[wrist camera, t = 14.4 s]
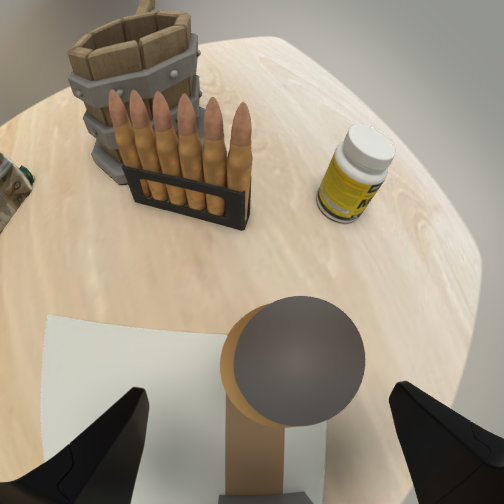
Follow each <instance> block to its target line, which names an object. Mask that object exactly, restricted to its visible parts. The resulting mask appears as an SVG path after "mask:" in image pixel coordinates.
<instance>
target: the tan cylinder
mask: <svg viewBox="0 0 504 504" xmlns="http://www.w3.org/2000/svg"><path fill="white" fill-rule="evenodd" d="M364 369H365V351H364V346H363V341H362V339H361V336H360V333H359V332H358V330H357V328H356V326H355V325H354V323H353V322H352V320H351V319H350V318H349V317H348V316H347V315H346V314H345V313H344V312H343V311H342V310H340V309H339V308H338V307H336V306H335V305H333V304H331V303H329V302H327V301H324V300H322V299H319V298H314V297H308V296H293V297H288V298H284V299H280V300H277V301H275V302H273V303H271V304H267V305H264V306H261V307H259V308H257V309H254V310H253V311H251V312H249V313H248V314H246V315H245V316H244V317H243V318H241V319H240V320H239V321H238V322H237V323H236V324H235V326H234V327H233V328H232V330H231V331H230V333H229V334H228V336H227V338H226V340H225V343H224V345H223V348H222V352H221V357H220V374H221V380H222V383H223V387H224V389H225V391H226V393H227V395H228V397H229V399H230V400H231V402H232V403H233V405H234V406H235V407H236V408H237V409H238V410H239V411H240V412H241V413H243V414H244V415H245V416H246V417H248V418H250V419H251V420H253V421H255V422H257V423H260V424H262V425H266V426H269V427H276V428H290V427H298V426H310V425H315V424H318V423H321V422H324V421H326V420H328V419H330V418H332V417H333V416H335V415H337V414H338V413H339V412H340V411H342V410H343V409H344V408H345V407H346V406H347V405H348V404H349V403H350V401H351V400H352V399H353V397H354V396H355V394H356V393H357V391H358V389H359V387H360V384H361V382H362V379H363V375H364Z"/></svg>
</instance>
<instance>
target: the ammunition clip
mask: <svg viewBox="0 0 504 504" xmlns="http://www.w3.org/2000/svg"><path fill="white" fill-rule="evenodd" d="M109 111H110V116H111V119H112V123H113V127H114V131H115V138H116V143H117V145H118V148H119V151H120V153H121V156H122V159H123V161H124V164H125V165H124V164H123V165H122V169H123V172H124V175H125V177H126V180H127V183H128V185H129V188H130V190H131V193H132V195H133V198H134V200H135V202H137V203H141V204H144V205H148V206H152V207H156V208H160V209H164V210H167V211H171V212H175V213H179V214H183V215H186V216H190V217H194V218H198V219H201V220H205V221H209V222H212V223H216V224H220V225H223V226H227V227H231V228H234V229H238V230H245V227H246V224H247V221H248V218H249V215H250V198H251V168H252V152H251V118H250V113H249V110H248V107H247V105H246V104H245V103H244V102H242V103H241V104H240V105H239V107H238V109H237V111H236V113H235V116H234V120H233V125H232V131H231V141H230V149H229V153H228V157H227V151H226V147H225V143H224V133H223V120H222V114H221V110H220V107H219V104H218V102H217V101H216V99H215V98H214V97H211V98H210V100H209V102H208V104H207V107H206V111H205V116H204V145H203V150H202V144H201V141H200V138H199V134H198V128H197V122H196V116H195V112H194V108H193V106H192V103H191V101H190V99H189V97H188V96H187V95H186V94H185V93H184V94H182V96H181V98H180V101H179V105H178V113H177V122H178V130H179V131H178V134H179V140H178V138H177V135H176V133H175V130H174V125H173V123H172V117H171V113H170V110H169V107H168V104H167V102H166V100H165V98H164V96H163V95H162V94H161V93H160V92H159V91H157V92H156V93H155V96H154V100H153V121H154V126H155V132H154V131H153V129H152V125H151V122H150V120H149V116H148V112H147V109H146V107H145V104H144V102H143V100H142V98H141V97H140V95H139V94H138V93H137V91H135V90H132V91H131V95H130V116H131V121H132V124H133V127H132V125H131V122H130V119H129V117H128V114H127V111H126V109H125V106H124V104H123V102H122V100H121V98H120V97H119V95H118V94H117V93H116V92H115V91H114V90H113V89H111V90H110V92H109Z"/></svg>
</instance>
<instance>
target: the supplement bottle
mask: <svg viewBox="0 0 504 504" xmlns="http://www.w3.org/2000/svg"><path fill="white" fill-rule="evenodd" d="M395 153H396V150H395V146H394V144H393V142H392V141H391V140H390V138H389V137H388V136H387V135H385V134H384V133H383V132H381V131H380V130H378V129H376V128H374V127H372V126H369V125H364V124H357V125H354V126H352V127H351V128H350V129H349V131H348V133H347V135H346V137H345V139H344V141H343V142H342V143H340V144H339V145H338V146H337V148H336V150H335V152H334V155H333V157H332V160H331V162H330V164H329V167H328V169H327V171H326V174H325V176H324V178H323V180H322V183H321V185H320V187H319V189H318V192H317V203H318V205H319V207H320V209H321V210H322V212H323V213H324V214H325V215H326V216H328V217H329V218H331V219H333V220H335V221H338V222H342V223H349V222H352V221H355V220H356V219H357V218H359V216H360V215H361V214H362V212H363V211H364V210H365V208H366V207H367V205H368V204H369V202H370V201H371V199H372V198H373V196H374V195H375V194H376V192H377V191H378V189H379V188H380V186H381V185H382V183H383V182H384V180H385V179H386V176H387V173H388V167H389V166H390V164H391V162H392V160H393V158H394V156H395Z"/></svg>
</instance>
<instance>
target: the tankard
mask: <svg viewBox="0 0 504 504" xmlns="http://www.w3.org/2000/svg"><path fill="white" fill-rule="evenodd" d="M154 9H155V0H140V2H139V6H138V9H137V12H136V15H133V16H128V17H124V18H123V20H122V21H121V20H120V19H118V20H115V21H113V22H110V23H108V24H106V25H104V26H101V27H99V28H97V29H95V30H93V31H91V32H89V33H87V34H86V35H84V36H83V37H82V38H81V39H80V40H79V41H78V42H77V43H76V44H75V45H74V46H73V47H72V48H71V49H70V50H69V52H68V56H69V59H70V63H71V66H72V69H73V72H72V73H71V74H70V75H69V77H68V80H69V83H70V86H71V89H72V91H73V94H74V96H76V97H77V98H79V99H81V100H82V101H84V104H85V106H86V109H87V110H86V112H85V114H84V116H83V120H84V122H85V125H86V127H87V129H88V132H89V133H90V134H91V135H92V136H94V137H95V138H96V139H97V140H96V143H95V146H94V149H93V152H92V154H91V155H92V157H93V159H94V161H95V163H96V164H97V165H98V166H99V167H101V168H102V169H103V170H104V171H105V172H106V173H107V174H108V175H110V176H111V177H112V178H113V179H114V180H115V181H116V182H117V183H119V184H125V183H127V180H126V177H125V175H124V172H123V169H122V165H123V164H124V161H123V159H122V156H121V153H120V151H119V148H118V145H117V143H116V138H115V131H114V127H113V123H112V119H111V116H110V111H109V92H110V90H111V89H113V90H114V91H115V92H116V93H117V94H118V95H119V97H120V98H121V100H122V102H123V104H124V106H125V109H126V111H127V114H128V117H129V119H130V122H131V125H132V127H133V124H132V121H131V116H130V95H131V91H132V90H135V91H137V93H138V94H139V95H140V97H141V98H142V100H143V102H144V104H145V107H146V109H147V112H148V116H149V120H150V122H151V125H152V129H153V131H154V132H155V126H154V121H153V100H154V96H155V93H156V92H157V91H159V92H160V93H161V94H162V95H163V96H164V98H165V100H166V102H167V104H168V107H169V110H170V113H171V117H172V123H173V125H174V130H175V133H176V135H177V138H178V140H179V134H178V131H179V130H178V122H177V113H178V105H179V101H180V98H181V96H182V94H184V93H185V94H186V95H187V96H188V97H189V99H190V101H191V103H192V106H193V108H194V112H195V116H196V122H197V128H198V134H199V138H200V141H201V144H202V150H203V145H204V116H205V111H206V110H205V109H203V108H201V107H199V98H200V97H201V96H202V92H201V91H200V86H199V76H198V75H196V68H197V58H198V56H200V54H201V52H200V50H198V36H197V35H196V34H193V33H191V20H190V15H189V14H187V13H182V12H173V11H154V12H151V11H152V10H154ZM124 165H125V164H124Z"/></svg>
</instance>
